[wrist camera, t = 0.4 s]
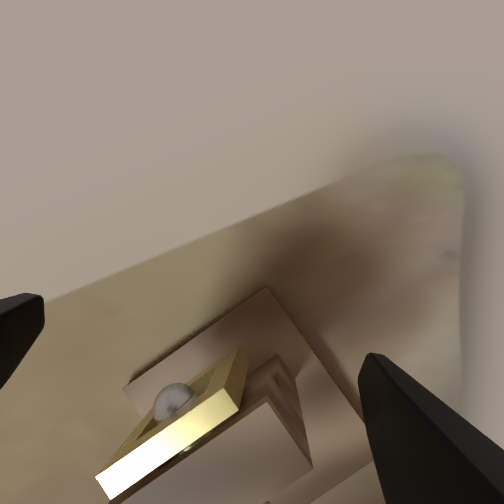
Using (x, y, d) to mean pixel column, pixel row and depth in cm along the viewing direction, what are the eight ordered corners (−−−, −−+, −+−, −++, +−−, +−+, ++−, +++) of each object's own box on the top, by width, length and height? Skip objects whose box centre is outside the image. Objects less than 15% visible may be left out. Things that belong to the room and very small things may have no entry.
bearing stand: (380, 445, 22) (473, 603, 12) (234, 544, 22) (203, 779, 12) (267, 285, 22) (263, 306, 12) (127, 384, 23) (15, 481, 13)
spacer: (249, 360, 18) (238, 410, 12) (162, 421, 18) (110, 499, 12) (239, 346, 18) (223, 387, 12) (153, 406, 18) (96, 476, 12)
